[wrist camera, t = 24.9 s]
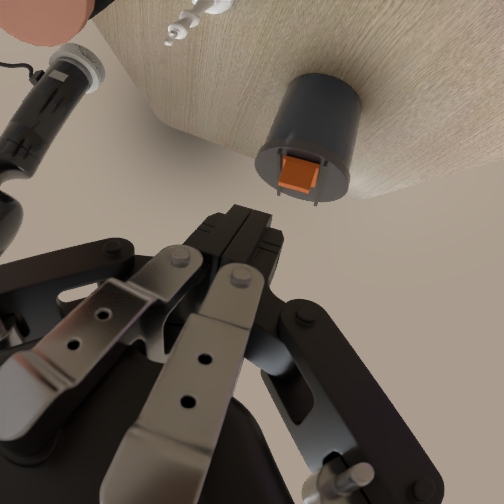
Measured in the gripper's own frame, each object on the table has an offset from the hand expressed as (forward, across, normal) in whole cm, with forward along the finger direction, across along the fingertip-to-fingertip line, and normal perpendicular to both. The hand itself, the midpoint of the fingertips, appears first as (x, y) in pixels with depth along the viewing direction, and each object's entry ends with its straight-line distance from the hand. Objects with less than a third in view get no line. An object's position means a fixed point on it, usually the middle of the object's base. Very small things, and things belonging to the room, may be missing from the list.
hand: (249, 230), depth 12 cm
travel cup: (+31, 0, -3) cm, 31 cm away
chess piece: (+22, +13, -14) cm, 29 cm away
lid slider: (+20, 0, +3) cm, 21 cm away
